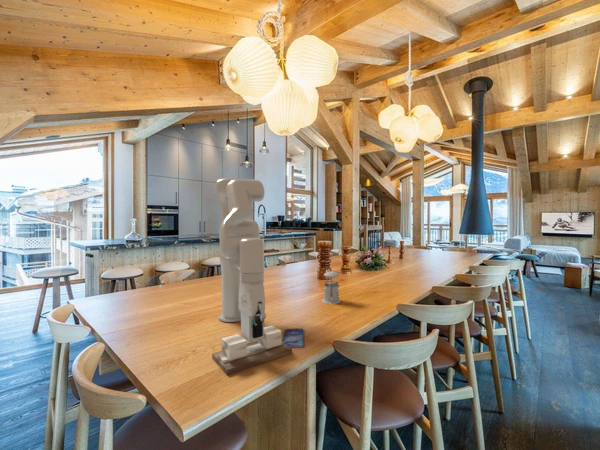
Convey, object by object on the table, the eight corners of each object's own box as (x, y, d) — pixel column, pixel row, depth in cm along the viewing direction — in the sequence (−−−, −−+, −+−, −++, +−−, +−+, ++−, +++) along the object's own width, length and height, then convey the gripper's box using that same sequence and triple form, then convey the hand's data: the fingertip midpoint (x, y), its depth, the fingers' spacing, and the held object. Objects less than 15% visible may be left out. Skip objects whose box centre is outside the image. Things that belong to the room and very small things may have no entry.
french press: (340, 298, 156) (340, 251, 155) (341, 305, 145) (341, 254, 144) (322, 297, 157) (322, 251, 156) (321, 304, 146) (321, 254, 145)
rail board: (212, 358, 92) (211, 336, 92) (272, 340, 105) (272, 321, 105) (226, 375, 82) (226, 351, 82) (291, 353, 95) (291, 332, 95)
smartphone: (281, 346, 99) (284, 328, 114) (282, 349, 99) (284, 331, 114) (303, 346, 99) (303, 328, 114) (303, 348, 99) (303, 330, 114)
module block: (241, 335, 94) (240, 311, 94) (255, 332, 97) (254, 308, 97) (249, 342, 89) (249, 316, 89) (264, 338, 92) (264, 313, 92)
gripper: (229, 274, 97) (230, 327, 98) (253, 283, 83) (254, 346, 84) (250, 271, 102) (250, 323, 102) (276, 280, 88) (277, 339, 88)
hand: (252, 332), depth 93 cm, fingers closed on module block, 6 cm apart
